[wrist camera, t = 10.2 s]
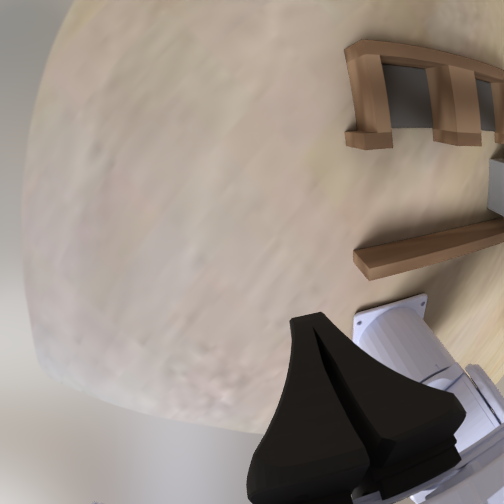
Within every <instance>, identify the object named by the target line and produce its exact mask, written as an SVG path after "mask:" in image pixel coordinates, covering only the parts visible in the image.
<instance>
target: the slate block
mask: <svg viewBox="0 0 504 504" xmlns="http://www.w3.org/2000/svg"><path fill="white" fill-rule="evenodd" d="M487 208H488V209H490V210H492V211H494V212H496V213H498V214H500V215H502V216H503V217H504V159H489V192H488V206H487Z"/></svg>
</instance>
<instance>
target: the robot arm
mask: <svg viewBox="0 0 504 504" xmlns="http://www.w3.org/2000/svg"><path fill="white" fill-rule="evenodd" d="M427 298H428V296H427V295H426V294H425V293H423V294H420V295H416V296H413V297H410V298H407V299H404V300H400V301H397V302H393V303H390V304H387V305H383V306H380V307H376V308H372V309H369V310H365V311H361V312H358V313H356V314H355V315H354V321H353V338H352V341H351V340H350V339H349V338H348V337H347V336H346V335H345V334H343V333H342V332H341V331H340V330H339V329H338V328H337V327H336V326H335V325H334V324H333V323H332V322H331V321H330V320H329V319H328V318H327V317H326V316H325V314H324V313H322V312H318V313H313V314H309V315H304V316H300V317H295V318H292V319H291V320H290V329H291V337H292V345H291V356H290V362H289V368H288V373H287V378H286V382H285V385H284V389H283V392H282V395H281V398H280V401H279V404H278V406H277V409H276V412H275V414H274V416H273V418H272V420H271V423H270V425H269V427H268V429H267V431H266V433H265V435H264V437H263V438H262V440H261V442H260V444H259V445H258V447H257V449H256V450H255V452H254V454H253V457H252V460H251V464H250V467H249V471H248V476H247V484H246V485H247V495H248V499H249V500H250V502H251V503H252V504H393V503H396V502H398V501H401V500H403V499H405V498H407V497H410V498H411V500H413V501H414V502H415V503H416V504H504V398H503V396H502V395H501V394H500V392H499V390H498V389H497V388H496V386H495V385H494V383H493V382H492V381H491V379H490V378H489V377H488V375H487V374H486V373H485V371H484V370H483V369H482V368H481V367H480V366H479V365H478V364H474V365H472V364H469V365H468V366H467V367H466V368H465V370H466V371H467V372H468V374H469V375H470V377H471V379H472V381H473V382H474V383H473V382H472V381H471V379H470V378H469V376H468V375H467V374H466V373H465V371H464V370H463V369H462V368H461V366H460V365H459V364H458V363H457V362H456V361H455V360H454V358H453V357H452V356H451V354H450V353H449V352H448V351H447V349H446V348H445V347H444V345H443V344H442V343H441V342H440V340H439V339H438V338H437V336H436V335H435V334H434V333H433V331H432V330H431V329H430V328H429V327H428V325H427V324H426V323H425V322H424V320H423V318H424V313H425V308H426V303H427ZM359 321H360V322H359ZM474 384H475V385H476V386H475V385H474ZM476 387H477V388H476ZM491 409H492V410H493V411H494V413H495V414H494V413H493V411H492V410H491ZM351 494H352V497H351ZM92 504H102V503H98V502H92Z"/></svg>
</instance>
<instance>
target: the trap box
mask: <svg viewBox="0 0 504 504" xmlns="http://www.w3.org/2000/svg"><path fill="white" fill-rule="evenodd" d="M344 53H345V57H346V62H347V67H348V72H349V78H350V83H351V89H352V95H353V101H354V107H355V114H356V122H357V130H358V131H348V132H345V138H346V146H349V147H354V148H359V149H363V150H372V149H385V148H393V141H392V130H391V128H433V138H434V141H436V142H441V143H447V144H451V145H456V146H482V142H481V130H484V131H494V132H495V143H500V144H504V70H502V69H499V68H496V67H494V66H491V65H488V64H485V63H482V62H479V61H476V60H472V59H469V58H466V57H462V56H458V55H455V54H451V53H447V52H443V51H438V50H434V49H429V48H424V47H418V46H413V45H407V44H400V43H393V42H384V41H375V40H360V41H359V42H357V43H355V44H353V45H351V46H350V47H348V48H346V49H345V50H344ZM382 64H387V65H382ZM390 65H398V66H390ZM401 66H408V67H401ZM410 67H416V68H410ZM418 68H423V69H418ZM476 79H478V80H476ZM480 80H482V81H480ZM484 81H486V82H484ZM487 82H489V83H487ZM502 242H504V217H501V218H497V219H493V220H489V221H485V222H480V223H476V224H472V225H468V226H463V227H459V228H455V229H450V230H446V231H442V232H437V233H433V234H428V235H424V236H419V237H415V238H410V239H406V240H401V241H397V242H392V243H387V244H383V245H378V246H373V247H369V248H364V249H359V250H354V251H353V260H354V263H355V264H356V266H357V267H358V268H359V269H360V271H361V272H362V273H363V274H364V275H365V277H366V278H367V279H368V280H369V281H371V280H375V279H379V278H383V277H387V276H391V275H395V274H399V273H402V272H406V271H410V270H413V269H417V268H421V267H424V266H428V265H431V264H435V263H438V262H442V261H445V260H449V259H452V258H455V257H459V256H462V255H465V254H468V253H471V252H475V251H478V250H481V249H484V248H487V247H490V246H493V245H496V244H499V243H502Z"/></svg>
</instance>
